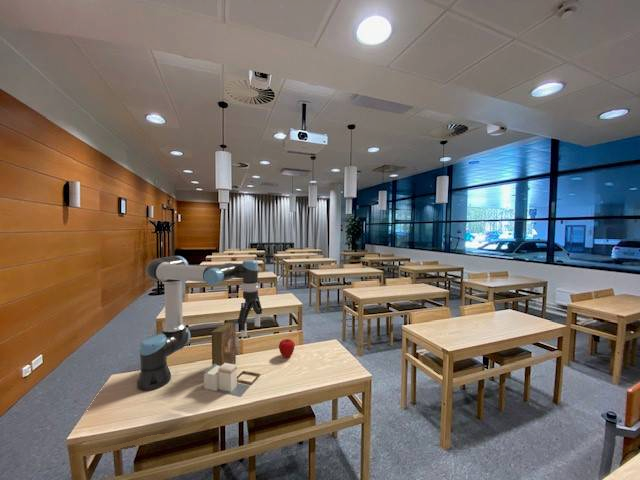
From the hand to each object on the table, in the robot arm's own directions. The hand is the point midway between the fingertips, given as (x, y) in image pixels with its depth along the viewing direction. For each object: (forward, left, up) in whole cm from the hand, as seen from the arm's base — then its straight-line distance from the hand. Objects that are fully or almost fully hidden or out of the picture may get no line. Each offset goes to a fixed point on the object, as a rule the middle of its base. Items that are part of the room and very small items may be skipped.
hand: (250, 330), depth 137 cm
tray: (-3, +2, -28) cm, 28 cm away
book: (-21, +8, -28) cm, 36 cm away
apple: (+7, +32, -28) cm, 43 cm away
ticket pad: (-16, -8, -27) cm, 32 cm away
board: (-9, -8, -28) cm, 31 cm away
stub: (-8, -8, -27) cm, 29 cm away
